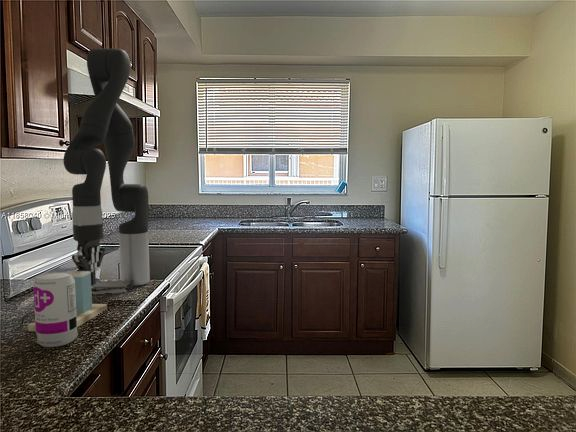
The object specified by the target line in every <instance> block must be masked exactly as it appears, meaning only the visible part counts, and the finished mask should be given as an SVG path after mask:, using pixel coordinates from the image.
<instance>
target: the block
mask: <svg viewBox="0 0 576 432" xmlns="http://www.w3.org/2000/svg"><path fill="white" fill-rule="evenodd" d="M66 272H68V273H71V275H72V277H73V278H74V280H75V296H76V313H85V312H87V311H88V310H90V309H92V304H93V297H92V296H93V295H92V292H91V271H79V270H67V271H66Z"/></svg>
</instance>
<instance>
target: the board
mask: <svg viewBox="0 0 576 432" xmlns="http://www.w3.org/2000/svg"><path fill="white" fill-rule="evenodd" d="M105 310H106V311H107V310H108V304H106V303H92V309H90V310H88V311H87V312H85V313H76V315H77V328H78V327H80V326H82V325H83V324H85V323H86V322H88V321H90V320H92V319H94V318H96V317H97V316H99V315H101V314H102V313H104V312H105ZM103 311H104V312H103ZM100 313H101V314H100ZM98 314H99V315H98ZM27 328H28V329H27V331H28V332H36V326H35V321H33V322H30V323H29V324H27Z"/></svg>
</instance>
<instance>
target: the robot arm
mask: <svg viewBox="0 0 576 432" xmlns="http://www.w3.org/2000/svg"><path fill="white" fill-rule="evenodd" d="M86 67H87V72H88V77H89V80H90V84H91V86H92V87H91V88H92V90H93V94H94V98H93V100H91V102H90V103H89V104H88V105H87V106H86V107H85V110H84V112H83V113H82V116H81V117H82V118H81V120H80V123H79V127H78V131H77V133H76V134H75V136H74V137H73V139H72V140H71V141H70V143H69V144H68V146H67V147H66V150H65V152H64V156H63V166H64V168H65V170H66V172H68V173H69V174H71V175H75V176H76V175H80V176H81V175H82V176H83V175H86V176H85V180H84V181H83V182H81V183H77V184H74V185H73V187H72V189H71V197H72V213H71V215H72V216H71V217H72V218H71V219H72V238H73V240H74V241H76V242H77V247H76V254H72V255H71V259H72V261H73V263H74V264H75V266H76V268H77V269H78V271H91V286H92V285H94V284H96V280H97V279H96V277H97V276H96V275H97V273H96V271H98V268H100V267H101V264H102V261H103V259H104V255H105V252H106V248H105V247H102V246H101V243H100V240H102V239H104V222H103V221H104V220H103V219H104V218H103V210H102V201H101V200H102V198H101V197H102V196H101V195H102V194H101V191H102V185H103V180H104V176H105V172H106V168H107V167H108V175H109V183H110V184H109V185H110V194H111V201H112V205H113V207H114V209H115V211H117V212H119V213H122V212H123V213H134V217H132V219H129V220H128V221H125V222H122V223H120V224H119V226H118V239H119V241H118V242H119V243H118V244H119V266H120V267H119V268H120V270H119V271H120V280H122V281H124V283H128V281H130V282H131V281H132V280H133V281H132V287H135V286H142V285H146V284H149V283H150V278H151V276H150V275H151V274H150V273H151V272H150V253H149V252H150V251H149V249H150V247H149V191H148V188H147V186H146V185H145V184H142V183H125V182H124V173H125V169H126V166H127V164H128V162H129V160H130V158H131V156H132V154H133V153H134V150H135V146H136V139H135V133H134V127H133V124H132V122H131V120H130V118H129V117H128V116H127V113H125V111H124V110H123V109H122V108H121V106H120V105H119V104H118V102H119V100H120V97H121V96H122V93H123V90H124V88H125V87H126V84H127V83H128V79H129V77H130V74H131V68H132V67H131V59H130V57H129V55H128V53H127V52H126V50H123V49H122V48H91V49H90V50H88V52H87V55H86ZM103 144H104V145H103ZM101 145H103V146H104V151H105V154H106V156H105V154H104V152H103V151H102V150H101V149H99V148H97V147H98V146H101ZM107 165H108V166H107Z"/></svg>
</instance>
